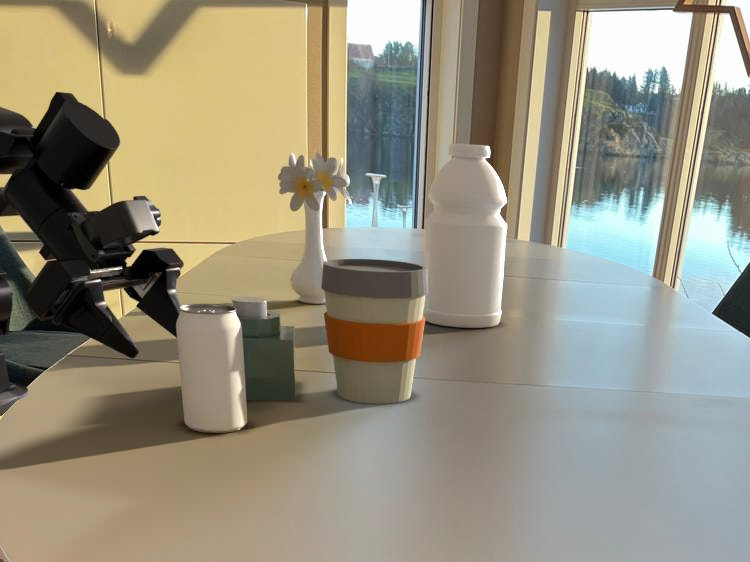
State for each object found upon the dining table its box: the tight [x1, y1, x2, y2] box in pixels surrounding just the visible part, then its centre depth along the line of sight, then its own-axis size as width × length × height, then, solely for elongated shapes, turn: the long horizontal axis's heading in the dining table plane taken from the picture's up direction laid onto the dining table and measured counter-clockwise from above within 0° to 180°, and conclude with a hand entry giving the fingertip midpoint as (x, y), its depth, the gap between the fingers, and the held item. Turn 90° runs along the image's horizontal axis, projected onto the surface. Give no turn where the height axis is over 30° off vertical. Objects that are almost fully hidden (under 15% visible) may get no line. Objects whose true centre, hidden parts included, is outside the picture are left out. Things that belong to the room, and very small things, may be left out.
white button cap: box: [231, 296, 268, 318], centre depth 110 cm, size 4×4×2 cm
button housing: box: [237, 310, 297, 402], centre depth 112 cm, size 10×9×9 cm
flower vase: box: [277, 152, 352, 305], centre depth 172 cm, size 13×18×25 cm
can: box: [176, 303, 248, 434], centre depth 98 cm, size 6×6×12 cm
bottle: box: [422, 142, 508, 329], centre depth 161 cm, size 14×14×28 cm
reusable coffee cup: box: [321, 258, 428, 405], centre depth 113 cm, size 13×13×15 cm
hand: (163, 348), depth 98 cm, fingers open, 9 cm apart
